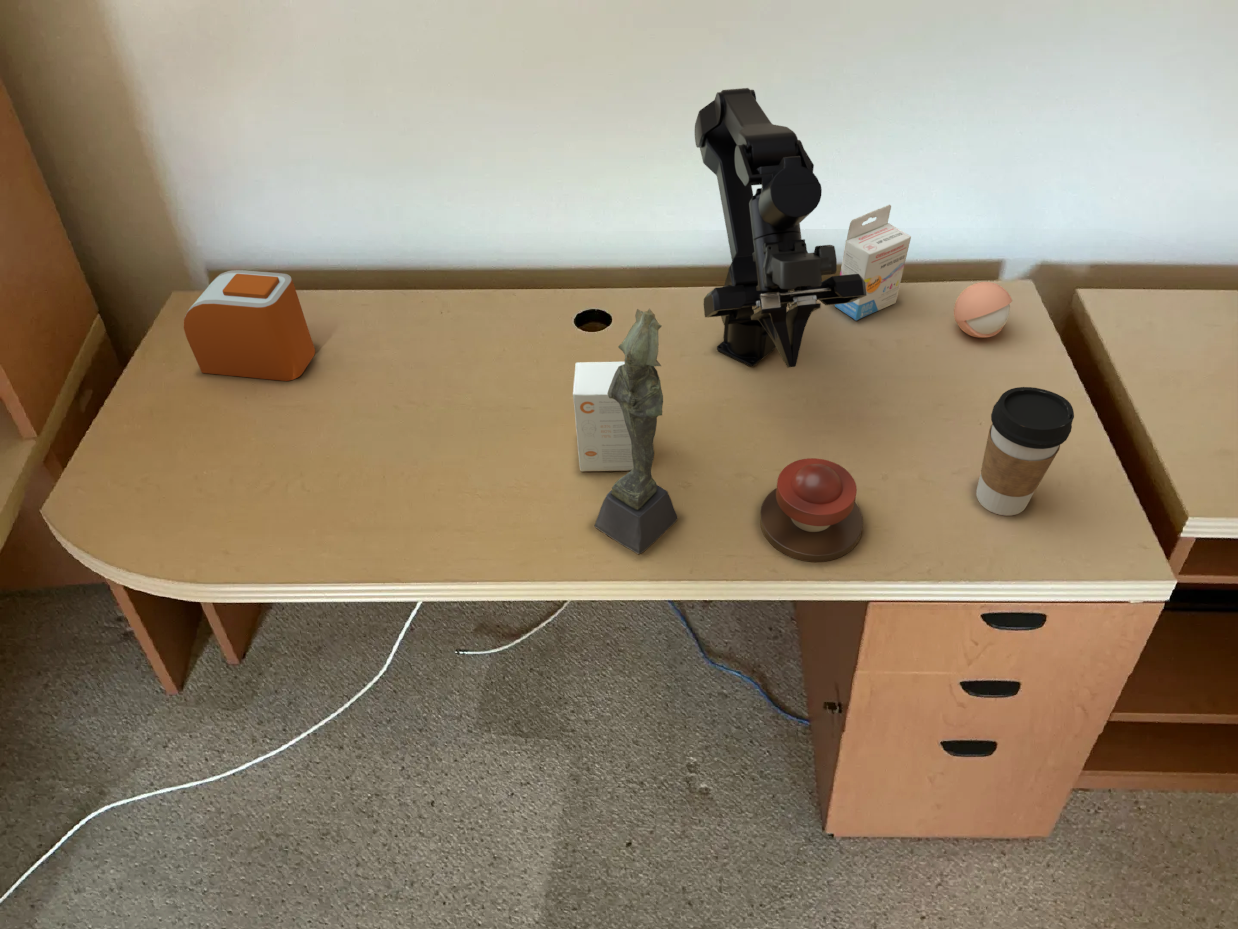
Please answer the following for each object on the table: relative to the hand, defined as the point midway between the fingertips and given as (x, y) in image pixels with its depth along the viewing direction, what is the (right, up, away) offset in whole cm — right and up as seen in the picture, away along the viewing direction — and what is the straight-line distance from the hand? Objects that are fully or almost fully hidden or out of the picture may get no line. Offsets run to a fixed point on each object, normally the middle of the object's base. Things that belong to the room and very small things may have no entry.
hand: (791, 367), depth 113 cm
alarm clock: (-73, +3, +24) cm, 77 cm away
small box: (-22, -11, +8) cm, 26 cm away
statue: (-19, -19, 0) cm, 27 cm away
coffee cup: (+26, -16, +1) cm, 30 cm away
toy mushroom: (+2, -19, -1) cm, 19 cm away
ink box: (+17, +12, +30) cm, 36 cm away
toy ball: (+31, +8, +24) cm, 41 cm away
